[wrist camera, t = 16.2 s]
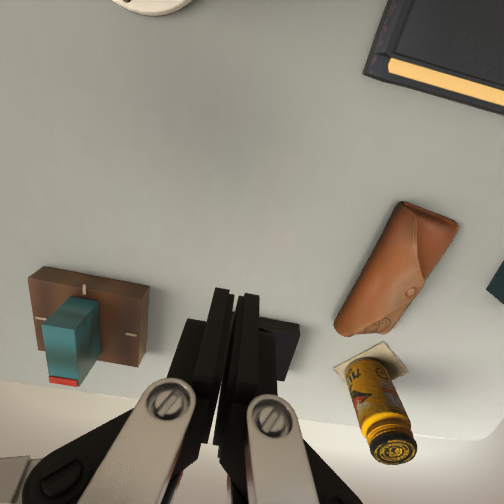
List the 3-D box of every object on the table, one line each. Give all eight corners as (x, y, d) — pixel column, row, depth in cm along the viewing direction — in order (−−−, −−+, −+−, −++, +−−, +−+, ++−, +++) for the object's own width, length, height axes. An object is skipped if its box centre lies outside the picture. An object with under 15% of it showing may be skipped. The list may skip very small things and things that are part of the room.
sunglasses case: (388, 338, 42) (380, 363, 36) (342, 311, 45) (327, 331, 39) (464, 220, 34) (468, 230, 29) (402, 197, 37) (395, 202, 32)
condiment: (332, 368, 46) (353, 449, 35) (382, 340, 43) (422, 419, 32) (359, 394, 48) (386, 478, 37) (408, 370, 45) (453, 453, 34)
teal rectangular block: (70, 295, 38) (39, 325, 33) (99, 300, 38) (73, 331, 33) (75, 349, 42) (48, 383, 37) (101, 353, 42) (78, 388, 37)
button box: (205, 356, 46) (200, 377, 42) (214, 308, 42) (209, 327, 38) (283, 370, 46) (285, 392, 43) (298, 324, 42) (302, 344, 39)
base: (52, 338, 45) (37, 354, 42) (42, 262, 39) (25, 274, 37) (145, 355, 46) (137, 371, 43) (149, 282, 40) (141, 295, 37)
